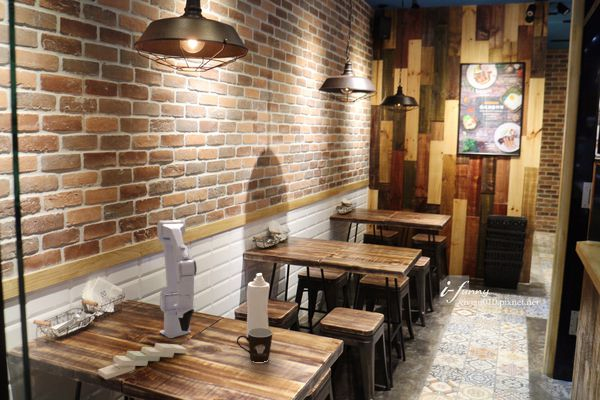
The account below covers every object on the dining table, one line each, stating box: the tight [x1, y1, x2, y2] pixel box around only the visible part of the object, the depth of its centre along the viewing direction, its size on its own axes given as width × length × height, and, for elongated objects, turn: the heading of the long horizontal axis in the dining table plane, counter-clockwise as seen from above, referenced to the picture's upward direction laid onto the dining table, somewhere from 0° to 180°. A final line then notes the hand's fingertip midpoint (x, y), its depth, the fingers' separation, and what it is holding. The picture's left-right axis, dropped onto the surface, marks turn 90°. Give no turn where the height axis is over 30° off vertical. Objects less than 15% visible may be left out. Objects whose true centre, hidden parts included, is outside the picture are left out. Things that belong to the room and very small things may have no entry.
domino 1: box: [97, 363, 136, 380], centre depth 166 cm, size 2×5×10 cm
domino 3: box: [125, 350, 161, 362], centre depth 173 cm, size 2×5×10 cm
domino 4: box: [140, 346, 175, 358], centre depth 176 cm, size 2×5×10 cm
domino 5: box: [153, 342, 188, 354], centre depth 180 cm, size 2×5×10 cm
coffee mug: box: [236, 328, 274, 362], centre depth 179 cm, size 12×9×10 cm
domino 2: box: [112, 355, 149, 367], centre depth 169 cm, size 2×5×10 cm
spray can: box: [246, 272, 271, 337], centre depth 197 cm, size 12×11×25 cm
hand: (184, 330), depth 184 cm, fingers closed
